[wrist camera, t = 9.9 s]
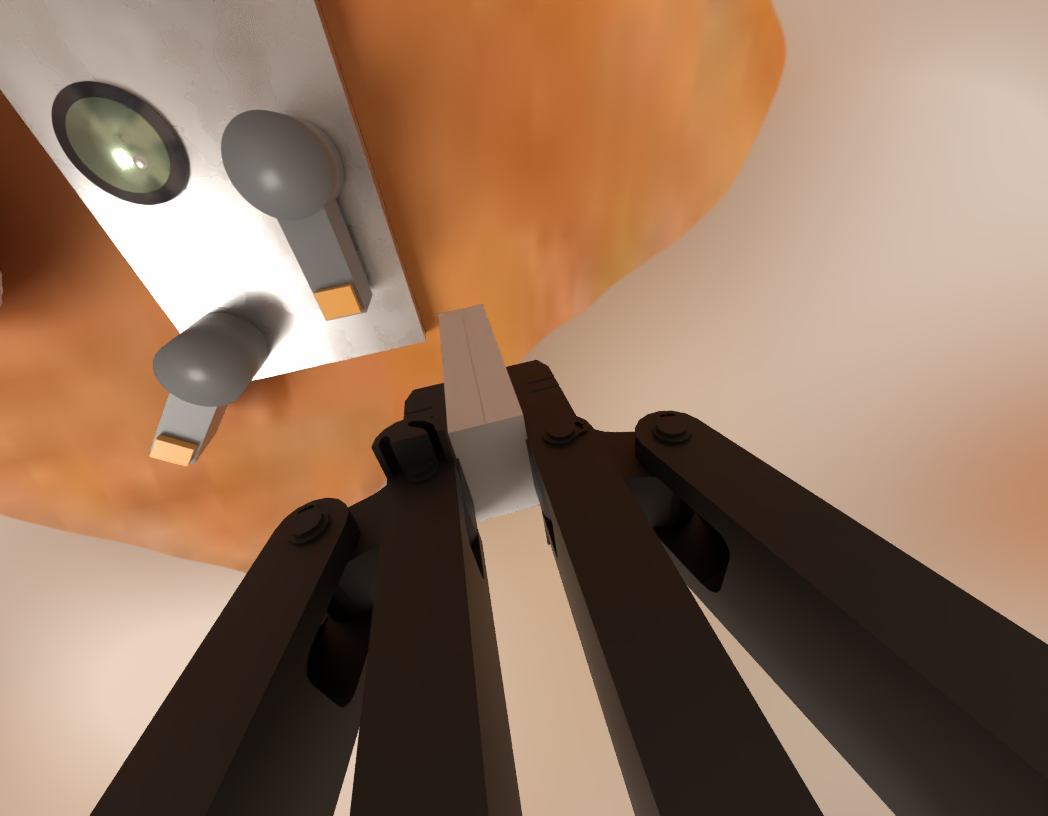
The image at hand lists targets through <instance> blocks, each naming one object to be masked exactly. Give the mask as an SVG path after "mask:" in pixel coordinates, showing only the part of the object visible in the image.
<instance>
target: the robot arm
mask: <svg viewBox="0 0 1048 816" xmlns="http://www.w3.org/2000/svg"><path fill="white" fill-rule="evenodd" d="M439 326H440V339H441V351H442V364H443V377H444V383H441V384H437V385H433V386H428V387H424V388H420V389H415V390H413V391H412V393H411V394H410V395H409V397H408V398H407V400H406V401H405V408H404V415H405V416H404V420H401V421H399V422H396V423H394V424H393V425H391V426H389V427H388V428H386V429H384V430H383V431H382V432H381V433H380V434H379V435H378V436H377V437H376V438H375V441H374V443H373V445H372V447H371V448H372V450H373V452H374V454H375V456H376V458H377V460H378V462H379V464H380V466H381V467H382V469H383V471H384V473H385V475H386V477H387V485H386V486H385V487H384V488H382V489H381V490H380V491H378V492H377V493H375V494H373V495H372V496H370V497H368V498H366V499H364V500H362V501H360V502H358V503H356V504H354V505H352V506H350V507H347V505H346V504H345V503H343V502H342V501H341V500H339V499H335V498H323V499H319V500H314V501H311V502H309V503H307V504H305V505H303V506H301V507H299V508H298V509H296V510H295V511H294V512H292V513H291V514H290V515H288V516H287V517H286V518H285V519H284V520H283V521H282V522H281V523H280V525H279V526H278V527H277V528H276V529H275V531H274V532H273V534H272V535H271V537H270V539H269V540H268V542H267V543H266V545H265V546H264V548H263V549H262V551H261V552H260V554H259V555H258V557H257V559H256V560H255V562H254V563H253V565H252V566H251V568H250V569H249V571H248V572H247V574H246V576H245V577H244V579H243V580H242V582H241V583H240V585H239V587H238V588H237V589H236V591H235V592H234V594H233V596H232V597H231V599H230V600H229V602H228V603H227V605H226V606H225V608H224V609H223V611H222V612H221V614H220V616H219V617H218V619H217V620H216V622H215V623H214V625H213V626H212V628H211V630H210V631H209V632H208V634H207V636H206V637H205V639H204V640H203V642H202V643H201V645H200V647H199V648H198V649H197V651H196V652H195V654H194V656H193V657H192V659H191V660H190V662H189V663H188V665H187V666H186V668H185V670H184V671H183V673H182V674H181V676H180V677H179V679H178V680H177V682H176V683H175V685H174V686H173V688H172V690H171V691H170V693H169V694H168V696H167V697H166V699H165V700H164V702H163V703H162V705H161V706H160V708H159V709H158V711H157V713H156V714H155V716H154V717H153V719H152V720H151V722H150V723H149V725H148V726H147V728H146V730H145V731H144V733H143V734H142V736H141V737H140V739H139V740H138V742H137V744H136V745H135V747H134V748H133V750H132V751H131V753H130V754H129V756H128V757H127V759H126V760H125V762H124V763H123V765H122V767H121V768H120V770H119V771H118V773H117V774H116V776H115V777H114V779H113V780H112V782H111V784H110V785H109V787H108V788H107V790H106V791H105V793H104V794H103V796H102V797H101V799H100V800H99V802H98V803H97V805H96V807H95V808H94V810H93V811H92V813H91V814H90V816H333V815H334V811H335V808H336V805H337V801H338V798H339V794H340V791H341V788H342V784H343V781H344V778H345V774H346V771H347V767H348V764H349V760H350V757H351V754H352V750H353V746H354V744H355V740H356V737H357V733H358V730H359V737H358V746H357V757H356V764H355V773H354V782H353V791H352V800H351V809H350V816H522V810H521V803H520V797H519V790H518V783H517V776H516V770H515V763H514V756H513V749H512V742H511V736H510V729H509V723H508V715H507V709H506V702H505V695H504V688H503V681H502V675H501V667H500V661H499V654H498V647H497V641H496V634H495V627H494V620H493V613H492V606H491V599H490V593H489V586H488V579H487V572H486V565H485V559H484V552H483V545H482V540H481V537H480V535H479V532H478V529H477V523H476V517H477V520H478V522H479V521H483V520H487V519H490V518H494V517H498V516H502V515H505V514H509V513H513V512H517V511H520V510H524V509H528V508H531V507H535V506H539V503H540V506H541V509H542V514H543V519H544V526H545V531H546V537H547V542H548V545H549V544H551V548H552V551H553V554H554V557H555V560H556V564H557V567H558V570H559V573H560V576H561V579H562V583H563V586H564V589H565V592H566V596H567V599H568V602H569V605H570V608H571V612H572V615H573V618H574V621H575V624H576V628H577V631H578V634H579V637H580V640H581V643H582V647H583V650H584V653H585V656H586V660H587V663H588V666H589V669H590V672H591V676H592V679H593V682H594V685H595V688H596V691H597V695H598V698H599V701H600V704H601V708H602V711H603V714H604V717H605V720H606V724H607V726H608V730H609V733H610V736H611V740H612V743H613V746H614V749H615V752H616V756H617V759H618V762H619V765H620V768H621V771H622V775H623V778H624V781H625V784H626V788H627V791H628V794H629V797H630V800H631V803H632V807H633V810H634V813H635V816H824V815H823V813H822V812H821V810H820V808H819V807H818V805H817V803H816V802H815V800H814V798H813V797H812V795H811V793H810V792H809V790H808V788H807V787H806V785H805V783H804V782H803V780H802V778H801V777H800V775H799V773H798V771H797V770H796V768H795V766H794V765H793V763H792V761H791V760H790V758H789V756H788V755H787V753H786V751H785V750H784V748H783V746H782V745H781V743H780V741H779V740H778V738H777V736H776V735H775V733H774V731H773V729H772V728H771V726H770V724H769V723H768V721H767V719H766V718H765V716H764V714H763V713H762V711H761V709H760V708H759V706H758V704H757V703H756V701H755V699H754V697H753V696H752V694H751V692H750V691H749V689H748V688H747V686H746V684H745V682H744V681H743V679H742V677H741V676H740V674H739V672H738V671H737V669H736V667H735V666H734V664H733V662H732V660H731V659H730V657H729V655H728V654H727V653H726V650H725V649H724V647H723V645H722V644H721V642H720V640H719V639H718V637H717V635H716V634H715V632H714V630H713V629H712V627H711V625H710V623H709V622H708V620H707V618H706V617H705V615H704V613H703V612H702V610H701V608H700V607H699V605H698V603H697V602H696V600H695V598H694V597H693V595H692V593H691V592H690V590H689V588H690V589H691V590H692V591H693V592H694V593H695V595H696V596H697V597H698V598H699V599H700V600H701V601H702V602H703V603H704V604H705V606H706V607H707V608H708V609H709V610H710V611H711V612H712V613H713V614H714V615H715V617H716V618H717V619H718V620H719V621H720V622H721V623H722V624H723V625H724V626H725V628H726V629H727V630H728V631H729V632H730V633H731V634H732V635H733V636H734V637H735V639H736V640H737V641H738V642H739V643H740V644H741V645H742V646H743V647H744V648H745V650H746V651H747V652H748V653H749V654H750V655H751V656H752V657H753V658H754V660H755V661H756V662H757V663H758V664H759V665H760V666H761V667H762V668H763V669H764V671H765V672H766V673H767V674H768V675H769V676H770V677H771V678H772V679H773V681H774V682H775V683H776V684H777V685H778V686H779V687H780V688H781V689H782V690H783V692H784V693H785V694H786V695H787V696H788V697H789V698H790V699H791V700H792V701H793V703H794V704H795V705H796V706H797V707H798V708H799V709H800V710H801V711H802V712H803V714H804V715H805V716H806V717H807V718H808V719H809V720H810V721H811V722H812V723H813V725H814V726H815V727H816V728H817V729H818V730H819V731H820V732H821V733H822V734H823V736H824V737H825V738H826V739H827V740H828V741H829V742H830V743H831V744H832V746H833V747H834V748H835V749H836V750H837V751H838V752H839V753H840V754H841V755H842V757H843V758H844V759H845V760H846V761H847V762H848V763H849V764H850V765H851V766H852V768H853V769H854V770H855V771H856V772H857V773H858V774H859V775H860V776H861V777H862V778H863V780H864V781H865V782H866V783H867V784H868V785H869V786H870V787H871V788H872V790H873V791H874V792H875V793H876V794H877V795H878V796H879V797H880V798H881V800H882V801H883V802H884V803H885V804H886V805H887V806H888V807H889V808H890V809H891V811H892V812H894V814H895V815H896V816H1048V644H1046V643H1045V642H1043V641H1041V640H1040V639H1038V638H1037V637H1035V636H1034V635H1032V634H1031V633H1029V632H1027V631H1026V630H1024V629H1023V628H1021V627H1020V626H1018V625H1017V624H1015V623H1013V622H1012V621H1010V620H1009V619H1007V618H1006V617H1004V616H1003V615H1001V614H1000V613H998V612H996V611H995V610H993V609H992V608H990V607H989V606H987V605H986V604H984V603H983V602H981V601H979V600H978V599H976V598H975V597H973V596H972V595H970V594H969V593H967V592H965V591H964V590H962V589H961V588H959V587H958V586H956V585H954V584H953V583H951V582H950V581H948V580H947V579H945V578H944V577H942V576H941V575H939V574H937V573H936V572H934V571H933V570H931V569H930V568H928V567H927V566H925V565H923V564H922V563H920V562H919V561H917V560H916V559H914V558H912V557H911V556H910V555H908V554H906V553H905V552H903V551H902V550H900V549H899V548H897V547H896V546H894V545H892V544H891V543H889V542H888V541H886V540H885V539H883V538H882V537H880V536H878V535H877V534H875V533H874V532H872V531H871V530H869V529H867V528H866V527H864V526H863V525H861V524H860V523H858V522H857V521H855V520H854V519H852V518H851V517H849V516H847V515H846V514H844V513H843V512H841V511H840V510H838V509H837V508H835V507H833V506H832V505H830V504H829V503H827V502H826V501H824V500H823V499H821V498H819V497H818V496H816V495H815V494H813V493H812V492H810V491H809V490H807V489H805V488H804V487H802V486H801V485H799V484H798V483H796V482H794V481H793V480H791V479H790V478H788V477H787V476H785V475H784V474H782V473H781V472H779V471H777V470H776V469H774V468H773V467H771V466H770V465H768V464H767V463H765V462H764V461H762V460H760V459H759V458H757V457H756V456H754V455H753V454H751V453H750V452H748V451H746V450H745V449H743V448H742V447H740V446H739V445H737V444H736V443H734V442H733V441H731V440H729V439H728V438H726V437H725V436H723V435H722V434H720V433H719V432H717V431H715V430H714V429H712V428H711V427H709V426H707V425H706V424H704V423H703V422H701V421H700V420H698V419H697V418H694V417H692V416H690V415H688V414H686V413H680V412H675V411H658V412H655V413H651V414H648V415H646V416H645V417H643V418H642V419H640V420H639V421H638V424H637V425H636V427H635V432H603V431H599V430H595V429H594V428H593V427H592V426H591V425H590V424H589V423H588V422H587V421H586V420H585V419H582V418H580V417H578V416H576V414H575V413H574V411H573V409H572V408H571V406H570V404H569V402H568V400H567V399H566V397H565V395H564V393H563V391H562V390H561V388H560V387H559V384H558V383H557V381H556V379H555V378H554V375H553V374H552V372H551V370H550V368H549V367H548V366H547V365H545V364H543V363H541V362H540V361H538V360H534V361H530V362H525V363H521V364H517V365H512V366H508V367H505V364H504V361H503V358H502V356H501V353H500V350H499V348H498V345H497V342H496V339H495V337H494V334H493V331H492V328H491V326H490V323H489V320H488V318H487V315H486V312H485V309H484V307H483V304H481V305H477V306H472V307H467V308H463V309H458V310H454V311H449V312H444V313H440V314H439ZM475 514H476V515H475ZM687 586H688V587H689V588H688V587H687ZM359 727H360V728H359Z"/></svg>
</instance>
